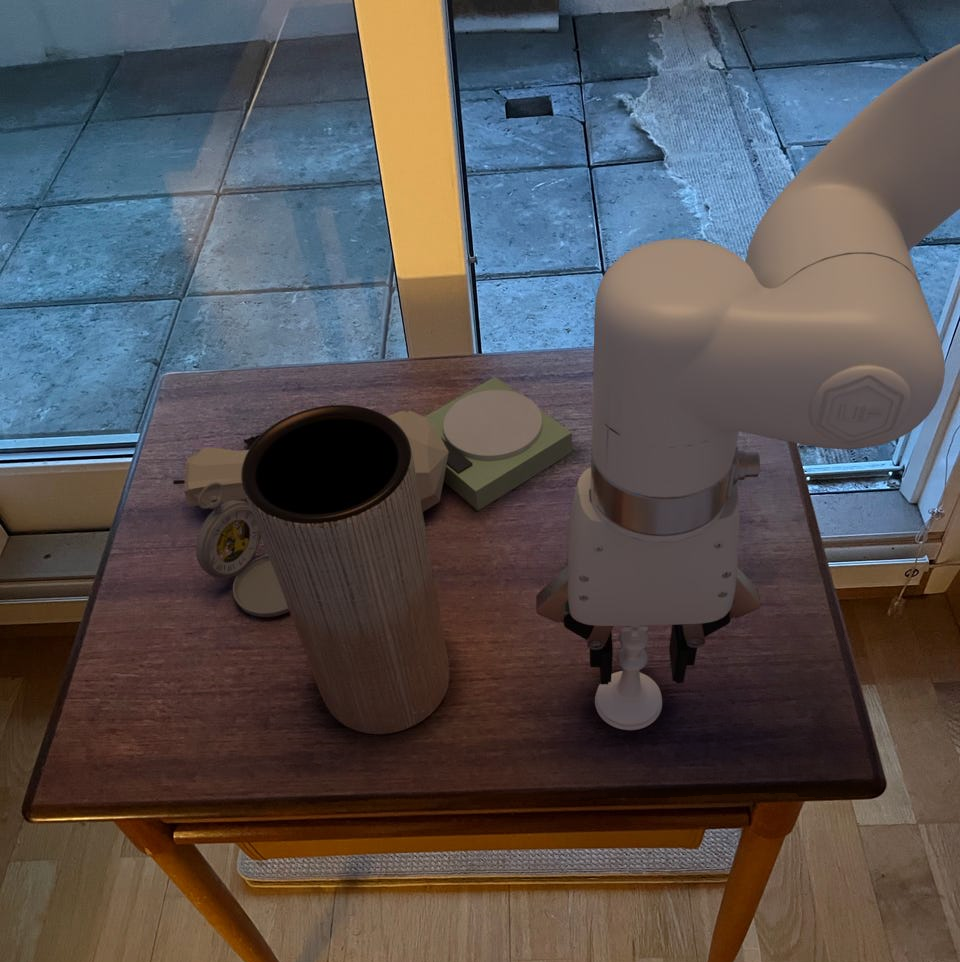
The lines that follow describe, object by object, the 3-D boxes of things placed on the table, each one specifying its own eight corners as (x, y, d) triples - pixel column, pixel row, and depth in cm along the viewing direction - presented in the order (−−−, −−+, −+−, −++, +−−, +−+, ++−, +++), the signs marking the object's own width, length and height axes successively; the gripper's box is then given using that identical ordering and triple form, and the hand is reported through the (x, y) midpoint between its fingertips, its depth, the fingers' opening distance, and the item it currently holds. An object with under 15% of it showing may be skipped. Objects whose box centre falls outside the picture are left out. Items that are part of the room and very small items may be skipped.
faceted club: (452, 529, 81) (172, 548, 84) (459, 482, 87) (200, 500, 90) (438, 433, 75) (139, 457, 78) (447, 391, 82) (172, 413, 85)
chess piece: (593, 675, 72) (596, 590, 64) (659, 674, 71) (670, 588, 63) (596, 731, 69) (599, 649, 61) (664, 730, 68) (677, 648, 60)
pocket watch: (309, 619, 77) (278, 534, 69) (208, 623, 78) (166, 539, 70) (320, 545, 82) (293, 458, 74) (225, 549, 83) (188, 463, 75)
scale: (496, 396, 92) (494, 371, 90) (572, 452, 87) (572, 427, 84) (405, 449, 89) (400, 424, 86) (477, 511, 83) (475, 486, 81)
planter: (316, 740, 70) (228, 527, 52) (326, 633, 76) (250, 409, 58) (451, 732, 70) (409, 514, 52) (450, 625, 76) (412, 396, 58)
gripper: (805, 423, 53) (754, 622, 68) (506, 434, 55) (520, 627, 69) (830, 519, 49) (771, 710, 63) (505, 529, 50) (519, 714, 65)
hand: (640, 665), depth 66 cm, fingers open, 4 cm apart
